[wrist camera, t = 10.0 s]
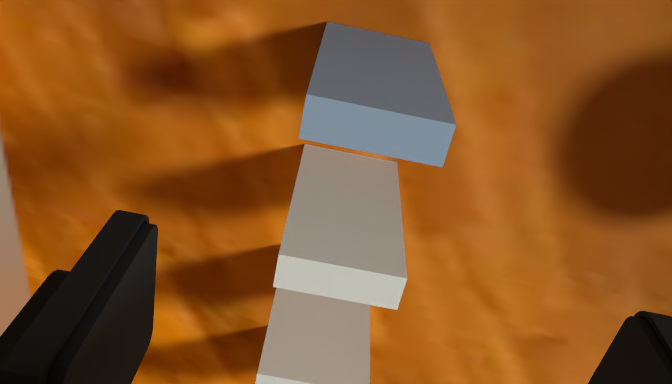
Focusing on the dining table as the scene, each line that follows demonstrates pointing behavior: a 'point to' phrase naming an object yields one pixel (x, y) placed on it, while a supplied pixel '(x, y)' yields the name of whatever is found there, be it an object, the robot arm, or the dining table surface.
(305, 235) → the tile
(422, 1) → the dining table surface
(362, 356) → the tile
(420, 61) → the tile
